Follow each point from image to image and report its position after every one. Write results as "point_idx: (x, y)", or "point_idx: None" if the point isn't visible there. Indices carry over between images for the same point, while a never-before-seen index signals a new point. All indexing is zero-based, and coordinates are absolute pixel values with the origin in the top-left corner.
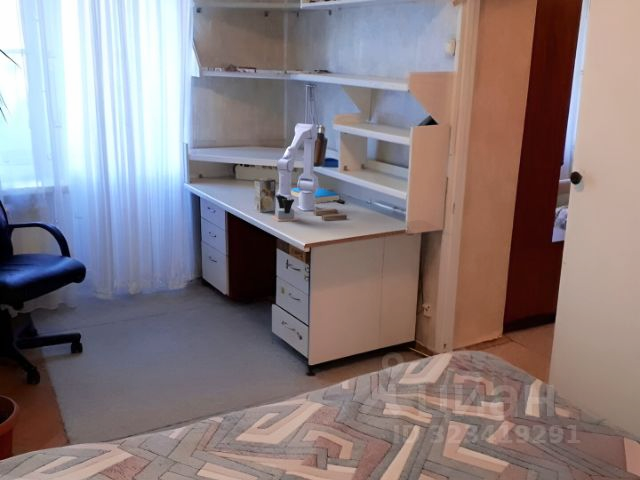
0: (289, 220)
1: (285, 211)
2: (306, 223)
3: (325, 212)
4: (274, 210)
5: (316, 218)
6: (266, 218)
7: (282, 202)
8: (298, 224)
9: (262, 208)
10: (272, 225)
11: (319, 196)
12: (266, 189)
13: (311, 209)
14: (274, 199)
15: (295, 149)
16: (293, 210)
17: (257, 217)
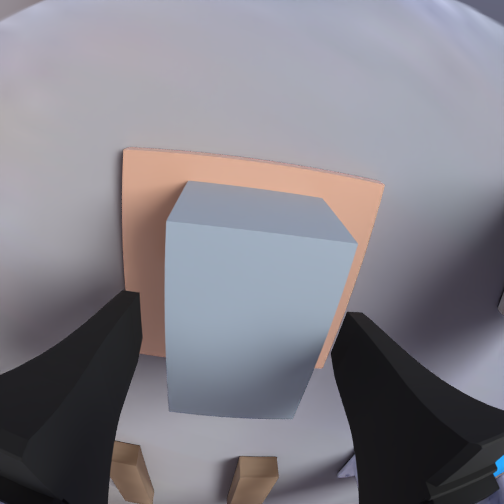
0: (127, 279)
1: (105, 306)
2: (40, 347)
3: (233, 488)
4: (500, 301)
5: (165, 439)
6: (344, 89)
7: (373, 414)
8: (13, 287)
9: None
10: (22, 45)
11: None
12: None
13: (350, 464)
14: None
15: None
16: (168, 402)
17: (423, 33)
